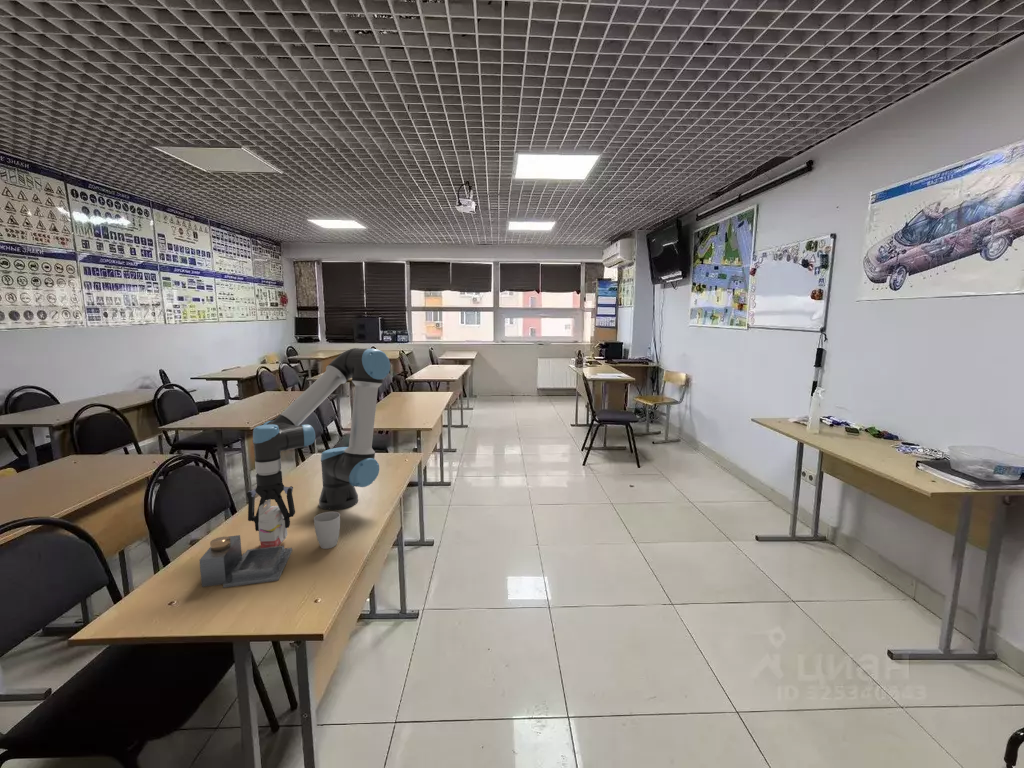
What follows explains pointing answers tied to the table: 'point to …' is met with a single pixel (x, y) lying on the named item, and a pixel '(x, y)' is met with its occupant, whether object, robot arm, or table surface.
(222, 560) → the grey stepped base
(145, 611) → the table surface
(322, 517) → the cup
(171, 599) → the table surface
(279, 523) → the ink cartridge box
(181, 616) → the table surface
